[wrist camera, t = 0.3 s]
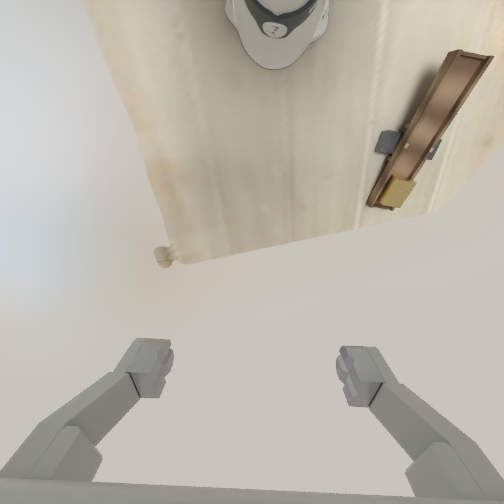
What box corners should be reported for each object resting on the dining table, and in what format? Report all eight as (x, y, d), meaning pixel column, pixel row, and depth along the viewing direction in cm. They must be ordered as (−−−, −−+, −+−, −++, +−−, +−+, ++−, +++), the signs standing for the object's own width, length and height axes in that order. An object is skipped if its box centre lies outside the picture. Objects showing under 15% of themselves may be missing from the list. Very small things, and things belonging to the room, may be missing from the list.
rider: (389, 173, 45) (399, 179, 42) (406, 176, 45) (416, 182, 42) (375, 198, 49) (383, 205, 46) (391, 200, 49) (399, 208, 46)
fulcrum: (382, 131, 44) (388, 130, 42) (432, 140, 44) (442, 139, 42) (374, 151, 46) (380, 151, 43) (423, 159, 46) (431, 159, 44)
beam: (444, 52, 34) (460, 49, 31) (476, 59, 34) (494, 56, 32) (364, 201, 52) (370, 207, 49) (386, 204, 52) (392, 210, 49)
